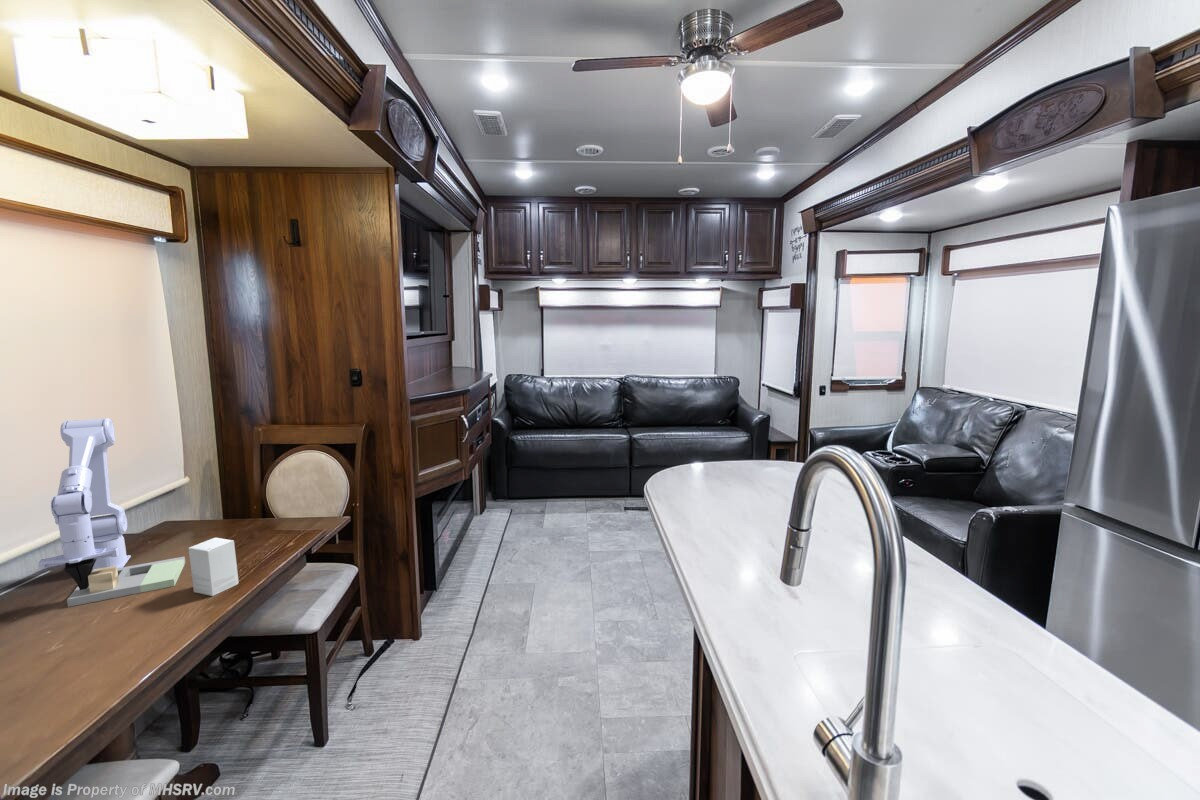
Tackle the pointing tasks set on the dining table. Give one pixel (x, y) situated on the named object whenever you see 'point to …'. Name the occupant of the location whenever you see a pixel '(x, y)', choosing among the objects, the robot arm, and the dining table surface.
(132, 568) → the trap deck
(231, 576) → the supplement box
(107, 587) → the maple block
